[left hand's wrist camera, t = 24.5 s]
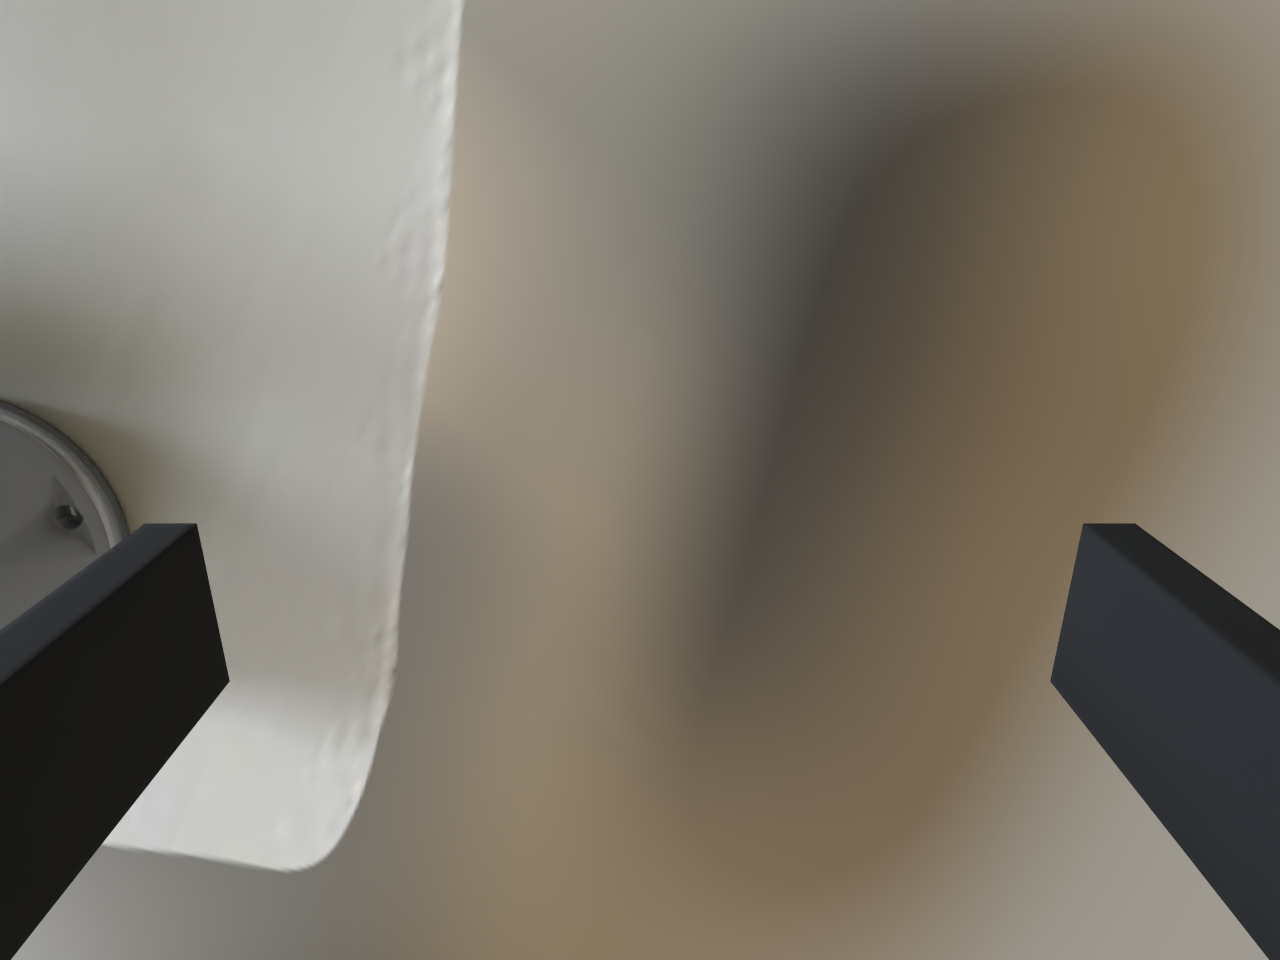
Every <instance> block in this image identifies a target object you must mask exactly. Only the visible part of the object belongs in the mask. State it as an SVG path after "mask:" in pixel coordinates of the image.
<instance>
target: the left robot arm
mask: <svg viewBox="0 0 1280 960" xmlns="http://www.w3.org/2000/svg"><path fill="white" fill-rule="evenodd" d="M228 683H229V676H228V671H227V666H226V661H225V657H224V652H223V647H222V642H221V638H220V633H219V628H218V623H217V618H216V614H215V609H214V604H213V599H212V595H211V590H210V585H209V580H208V575H207V571H206V566H205V561H204V556H203V551H202V547H201V542H200V537H199V532H198V528H197V524H144V525H142V526H141V527H140V528H138V529H137V530H136V531H134V532H133V533H131V534H130V535H129V536H128V533H127V528H126V524H125V520H124V517H123V515H122V512H121V509H120V506H119V504H118V502H117V500H116V498H115V496H114V494H113V492H112V490H111V489H110V487H109V485H108V483H107V482H106V480H105V479H104V478H103V476H102V475H101V473H100V472H99V470H98V469H97V468H96V467H95V466H94V464H93V463H92V462H91V461H90V460H89V459H88V458H87V456H86V455H85V454H84V453H83V452H82V451H81V450H80V449H79V448H78V447H77V446H75V445H74V444H73V443H72V442H71V441H70V440H69V439H67V438H66V437H65V436H64V435H62V434H61V433H60V432H58V431H57V430H56V429H54V428H53V427H51V426H50V425H48V424H46V423H45V422H43V421H42V420H40V419H38V418H36V417H35V416H33V415H31V414H29V413H27V412H25V411H23V410H20V409H18V408H16V407H14V406H11V405H8V404H5V403H3V402H0V960H11V959H12V957H13V956H14V955H15V954H16V952H17V951H18V950H19V948H20V947H21V946H22V945H23V943H24V942H25V941H26V940H27V938H28V937H29V936H30V934H31V933H32V932H33V931H34V929H35V928H36V927H37V926H38V924H39V923H40V922H41V920H42V919H43V918H44V917H45V915H46V914H47V913H48V912H49V910H50V909H51V908H52V907H53V905H54V904H55V903H56V901H57V900H58V899H59V898H60V896H61V895H62V894H63V893H64V891H65V890H66V889H67V887H68V886H69V885H70V884H71V882H72V881H73V880H74V879H75V877H76V876H77V875H78V873H79V872H80V871H81V870H82V868H83V867H84V866H85V865H86V863H87V862H88V861H89V859H90V858H91V857H92V856H93V854H94V853H95V852H96V851H97V849H98V848H99V847H100V845H101V844H102V843H103V842H104V840H105V839H106V838H107V837H108V835H109V834H110V833H111V831H112V830H113V829H114V828H115V826H116V825H117V824H118V823H119V821H120V820H121V819H122V818H123V816H124V815H125V814H126V812H127V811H128V810H129V809H130V807H131V806H132V805H133V804H134V802H135V801H136V800H137V798H138V797H139V796H140V795H141V793H142V792H143V791H144V790H145V788H146V787H147V786H148V784H149V783H150V782H151V781H152V779H153V778H154V777H155V776H156V774H157V773H158V772H159V770H160V769H161V768H162V767H163V765H164V764H165V763H166V762H167V760H168V759H169V758H170V756H171V755H172V754H173V753H174V751H175V750H176V749H177V748H178V746H179V745H180V744H181V742H182V741H183V740H184V739H185V737H186V736H187V735H188V734H189V732H190V731H191V730H192V728H193V727H194V726H195V725H196V723H197V722H198V721H199V720H200V718H201V717H202V716H203V714H204V713H205V712H206V711H207V709H208V708H209V707H210V706H211V704H212V703H213V702H214V700H215V699H216V698H217V697H218V695H219V694H220V693H221V692H222V690H223V689H224V688H225V686H226V685H227V684H228ZM1051 683H1052V684H1053V685H1054V686H1055V688H1056V689H1057V690H1058V691H1059V693H1060V694H1061V695H1062V697H1063V698H1064V699H1065V700H1066V702H1067V703H1068V704H1069V706H1070V707H1071V708H1072V709H1073V711H1074V712H1075V713H1076V714H1077V716H1078V717H1079V718H1080V719H1081V721H1082V722H1083V723H1084V725H1085V726H1086V727H1087V728H1088V730H1089V731H1090V732H1091V734H1092V735H1093V736H1094V737H1095V739H1096V740H1097V741H1098V742H1099V744H1100V745H1101V746H1102V747H1103V749H1104V750H1105V751H1106V753H1107V754H1108V755H1109V756H1110V758H1111V759H1112V760H1113V762H1114V763H1115V764H1116V765H1117V767H1118V768H1119V769H1120V770H1121V772H1122V773H1123V774H1124V776H1125V777H1126V778H1127V779H1128V781H1129V782H1130V783H1131V784H1132V786H1133V787H1134V788H1135V790H1136V791H1137V792H1138V793H1139V795H1140V796H1141V797H1142V798H1143V800H1144V801H1145V802H1146V803H1147V805H1148V806H1149V807H1150V809H1151V810H1152V811H1153V812H1154V814H1155V815H1156V816H1157V818H1158V819H1159V820H1160V821H1161V822H1162V824H1163V825H1164V826H1165V828H1166V829H1167V830H1168V831H1169V833H1170V834H1171V835H1172V837H1173V838H1174V839H1175V840H1176V842H1177V843H1178V844H1179V845H1180V847H1181V848H1182V849H1183V851H1184V852H1185V853H1186V854H1187V856H1188V857H1189V858H1190V859H1191V861H1192V862H1193V863H1194V865H1195V866H1196V867H1197V868H1198V870H1199V871H1200V872H1201V873H1202V875H1203V876H1204V877H1205V879H1206V880H1207V881H1208V882H1209V884H1210V885H1211V886H1212V887H1213V889H1214V890H1215V891H1216V892H1217V894H1218V895H1219V896H1220V898H1221V899H1222V900H1223V901H1224V903H1225V904H1226V905H1227V907H1228V908H1229V909H1230V910H1231V912H1232V913H1233V914H1234V915H1235V917H1236V918H1237V919H1238V921H1239V922H1240V923H1241V924H1242V926H1243V927H1244V928H1245V929H1246V931H1247V932H1248V933H1249V935H1250V936H1251V937H1252V938H1253V940H1254V941H1255V942H1256V943H1257V945H1258V946H1259V947H1260V949H1261V950H1262V951H1263V952H1264V954H1265V955H1266V956H1267V957H1268V959H1269V960H1280V630H1279V629H1278V628H1276V627H1275V626H1274V625H1272V624H1271V623H1269V622H1268V621H1267V620H1265V619H1264V618H1263V617H1261V616H1260V615H1259V614H1257V613H1256V612H1254V611H1253V610H1252V609H1250V608H1249V607H1248V606H1246V605H1245V604H1244V603H1242V602H1241V601H1240V600H1238V599H1237V598H1236V597H1234V596H1233V595H1231V594H1230V593H1229V592H1227V591H1226V590H1225V589H1223V588H1222V587H1221V586H1219V585H1218V584H1216V583H1215V582H1214V581H1212V580H1211V579H1210V578H1208V577H1207V576H1206V575H1204V574H1203V573H1202V572H1200V571H1199V570H1197V569H1196V568H1195V567H1193V566H1192V565H1191V564H1189V563H1188V562H1187V561H1185V560H1184V559H1183V558H1181V557H1180V556H1178V555H1177V554H1176V553H1174V552H1173V551H1172V550H1170V549H1169V548H1168V547H1166V546H1165V545H1164V544H1162V543H1161V542H1159V541H1158V540H1157V539H1155V538H1154V537H1153V536H1151V535H1150V534H1149V533H1147V532H1146V531H1144V530H1143V529H1142V528H1140V527H1139V526H1138V525H1136V524H1083V528H1082V533H1081V537H1080V542H1079V547H1078V552H1077V556H1076V561H1075V566H1074V571H1073V575H1072V580H1071V585H1070V590H1069V595H1068V599H1067V604H1066V609H1065V614H1064V619H1063V623H1062V628H1061V633H1060V638H1059V642H1058V647H1057V652H1056V657H1055V661H1054V666H1053V671H1052V676H1051Z"/></svg>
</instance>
